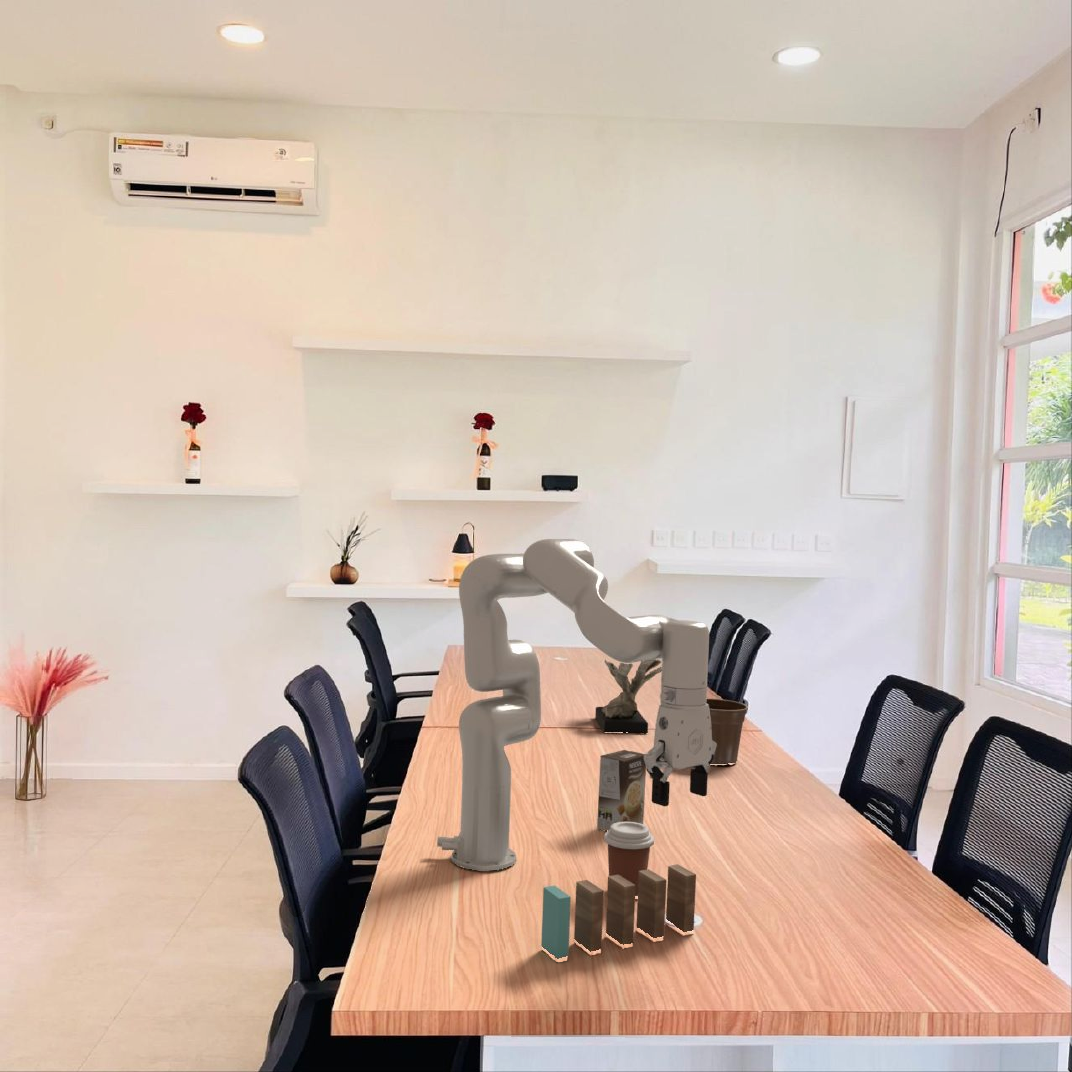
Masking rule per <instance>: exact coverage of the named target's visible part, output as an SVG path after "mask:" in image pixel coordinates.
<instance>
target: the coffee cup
mask: <svg viewBox="0 0 1072 1072" xmlns="http://www.w3.org/2000/svg"><path fill="white" fill-rule="evenodd" d="M603 841H604V842H605V843H606V844H607V860H608V876H613V875H620V876H621V877H623V878H625V879H626V880H628V881H630V882H631V883H633V884H634V885H636V886H635V896H638V877H639V871H642V870H648V866H649V860H650V858H649V857H650V853H651V852H650V851H651V847H652V846H653V845H655V837H654V835H652V834H651V833H650V828H649V827H648V826H647V825H645V824H644V823H643V824H640V823H636V822H617V823H614V824H612V825H611V826H610V830H609V831H608V832H606V831H605V833H604V839H603Z"/></svg>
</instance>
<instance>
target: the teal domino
mask: <svg viewBox="0 0 1072 1072" xmlns="http://www.w3.org/2000/svg"><path fill="white" fill-rule="evenodd" d="M571 899H572V898H571V896H570V895H569V894H567V893H566V892H565V891H563V890H562V889H561V888H559V887H558V886H557V885H549V886H548V885H547V886H544V887H543V894H542V917H541V918H542V919H541V943H540V944H541V946H542V947H543V948H544V949H546V950H547V951H548V952H549V953H550V954H552V955H554V956H555V958H557V959H559V958H562V957H566V956H568V957H569V951H570V950H569V949H570V929H571V928H570V925H571V924H570V923H571ZM541 946H540V947H541Z"/></svg>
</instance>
